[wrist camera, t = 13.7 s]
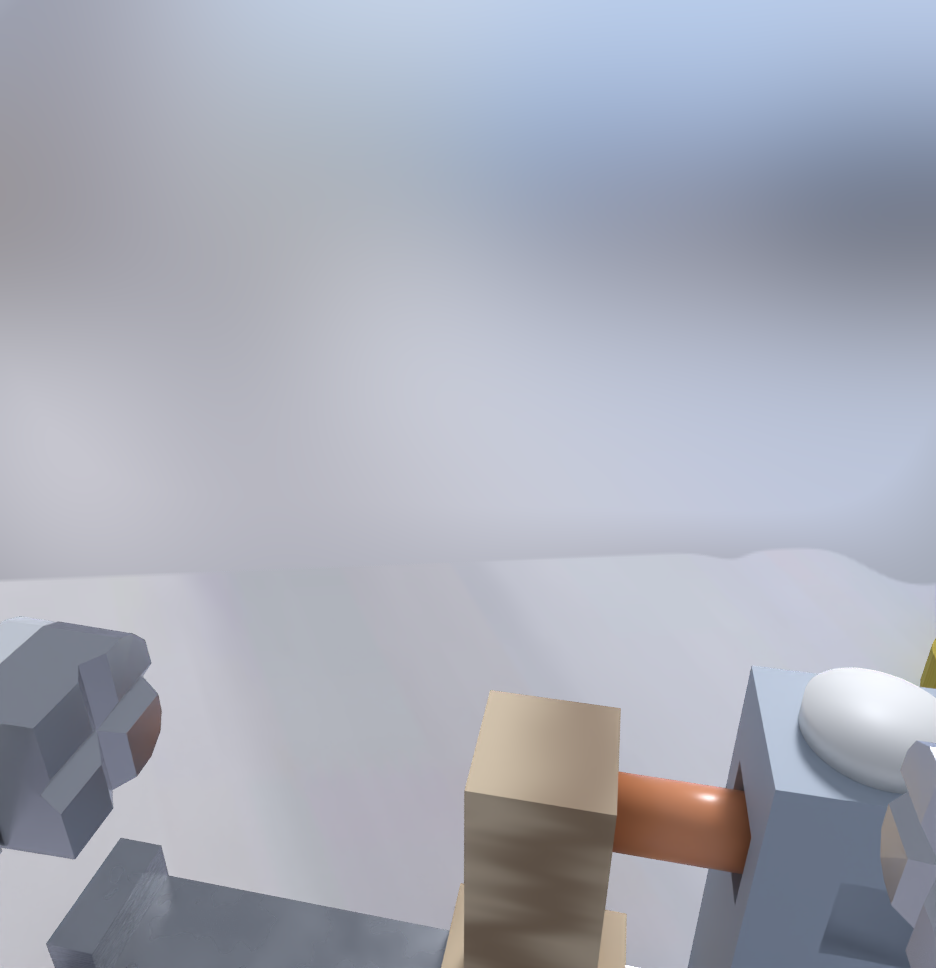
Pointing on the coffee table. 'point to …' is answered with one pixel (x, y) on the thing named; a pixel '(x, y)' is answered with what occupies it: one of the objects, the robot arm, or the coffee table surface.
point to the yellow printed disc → (930, 669)
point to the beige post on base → (539, 839)
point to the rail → (222, 925)
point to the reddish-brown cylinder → (682, 822)
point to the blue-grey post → (815, 822)
